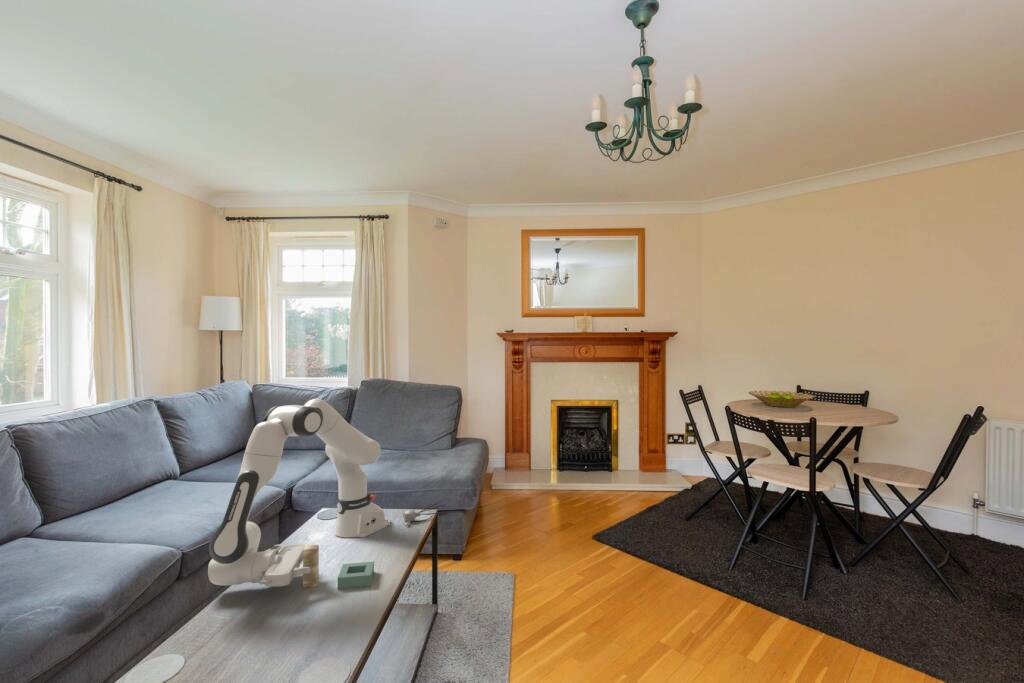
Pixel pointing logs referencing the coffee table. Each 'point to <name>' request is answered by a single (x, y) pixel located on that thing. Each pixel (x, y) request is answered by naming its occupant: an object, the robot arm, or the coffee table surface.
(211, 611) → the coffee table surface
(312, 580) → the light wooden block
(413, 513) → the reed diffuser
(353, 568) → the sage square frame
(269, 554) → the robot arm
